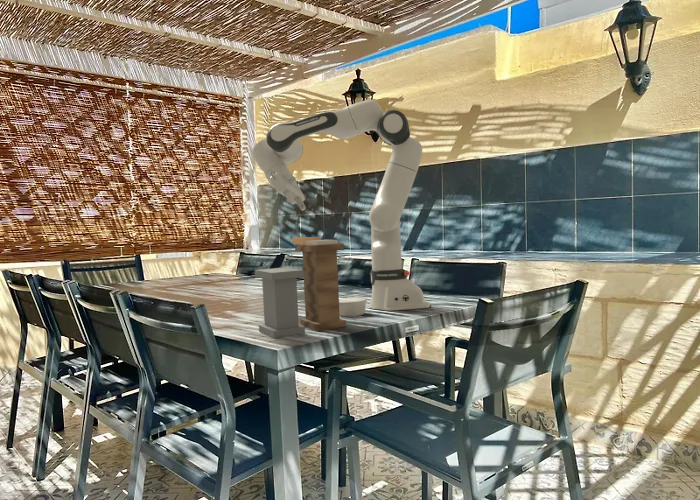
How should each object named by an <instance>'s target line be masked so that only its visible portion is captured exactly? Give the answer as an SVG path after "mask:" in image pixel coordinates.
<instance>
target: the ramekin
mask: <svg viewBox="0 0 700 500" xmlns="http://www.w3.org/2000/svg"><path fill="white" fill-rule="evenodd" d="M367 302H368V301H367V298H364V297H357V296H355V297H354V296H353V297H342V298H339V313H340V317H345V318H346V317H358V316H362V315H364V314H365V313H366V306H367Z"/></svg>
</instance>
